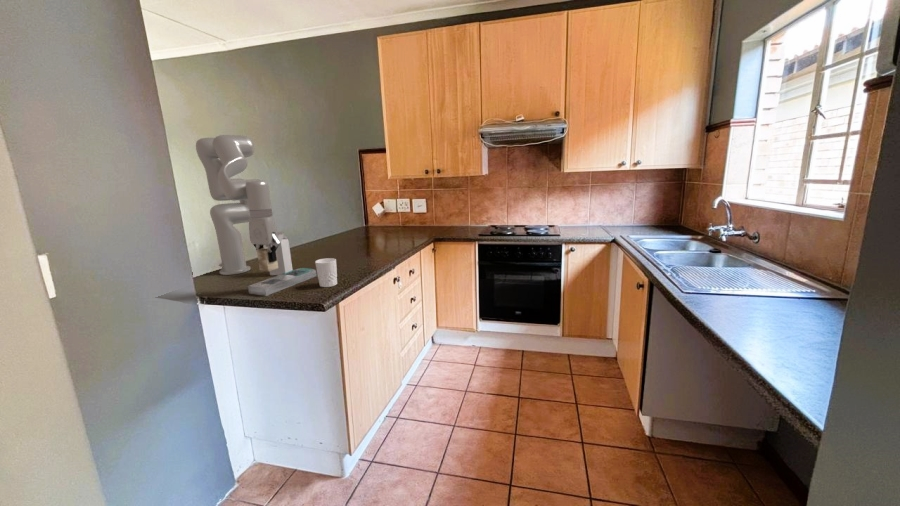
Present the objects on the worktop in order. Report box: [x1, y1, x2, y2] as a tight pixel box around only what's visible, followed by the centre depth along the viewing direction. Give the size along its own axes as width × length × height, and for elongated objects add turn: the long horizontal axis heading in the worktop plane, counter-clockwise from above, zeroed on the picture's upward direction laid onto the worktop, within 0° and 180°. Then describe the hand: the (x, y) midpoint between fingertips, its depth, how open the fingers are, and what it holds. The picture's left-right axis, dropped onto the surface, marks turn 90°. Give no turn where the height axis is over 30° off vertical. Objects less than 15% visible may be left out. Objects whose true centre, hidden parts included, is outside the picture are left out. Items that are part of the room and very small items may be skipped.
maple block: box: [256, 246, 278, 272], centre depth 140 cm, size 5×5×8 cm
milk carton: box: [264, 231, 294, 276], centre depth 162 cm, size 7×7×19 cm
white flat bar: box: [247, 267, 318, 297], centre depth 147 cm, size 26×9×3 cm, turn 157°
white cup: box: [314, 257, 338, 288], centre depth 144 cm, size 8×8×10 cm
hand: (267, 260), depth 140 cm, fingers closed on maple block, 4 cm apart
